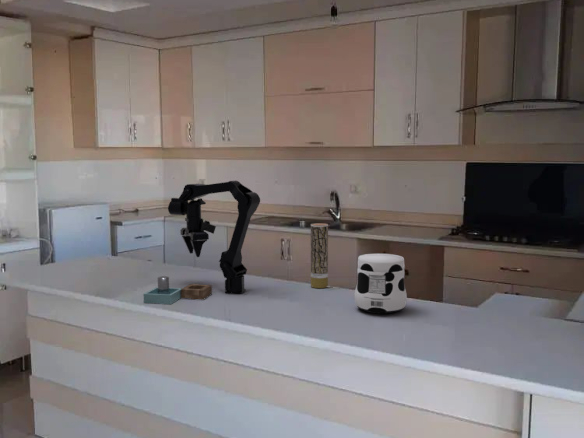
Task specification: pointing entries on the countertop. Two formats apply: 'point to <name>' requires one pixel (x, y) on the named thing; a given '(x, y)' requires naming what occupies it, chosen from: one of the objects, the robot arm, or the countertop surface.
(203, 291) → the block
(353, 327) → the countertop surface
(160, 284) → the translucent grey cylinder
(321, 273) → the bark textured cylinder
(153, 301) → the tray
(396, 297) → the milk container
